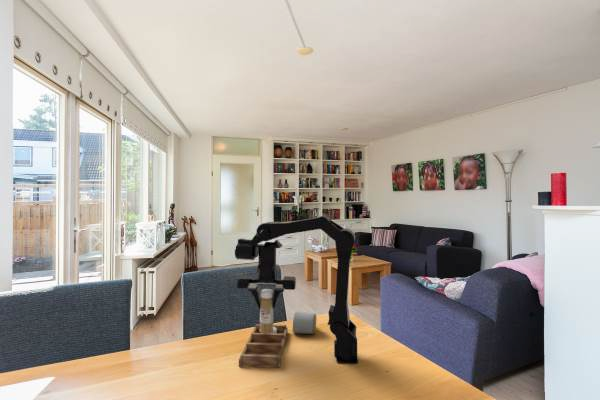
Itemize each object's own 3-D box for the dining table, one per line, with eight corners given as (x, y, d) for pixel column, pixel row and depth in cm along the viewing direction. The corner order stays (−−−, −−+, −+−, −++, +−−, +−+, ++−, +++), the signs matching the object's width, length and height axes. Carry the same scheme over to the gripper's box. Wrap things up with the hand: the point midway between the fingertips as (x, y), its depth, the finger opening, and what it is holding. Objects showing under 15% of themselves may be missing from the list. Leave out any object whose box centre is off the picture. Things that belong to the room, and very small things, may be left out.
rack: (287, 332, 110) (287, 324, 109) (279, 367, 87) (279, 357, 87) (255, 331, 110) (255, 323, 110) (238, 366, 88) (238, 356, 88)
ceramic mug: (315, 337, 106) (315, 316, 106) (292, 336, 107) (292, 314, 107) (317, 325, 116) (317, 305, 116) (296, 324, 117) (296, 304, 117)
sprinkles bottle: (257, 333, 97) (257, 291, 96) (263, 327, 101) (264, 287, 101) (269, 335, 95) (270, 293, 95) (275, 329, 99) (276, 289, 99)
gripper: (297, 256, 105) (296, 300, 105) (244, 255, 106) (244, 299, 106) (295, 263, 94) (294, 313, 94) (236, 262, 95) (236, 311, 95)
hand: (266, 308), depth 98 cm, fingers closed on sprinkles bottle, 4 cm apart
